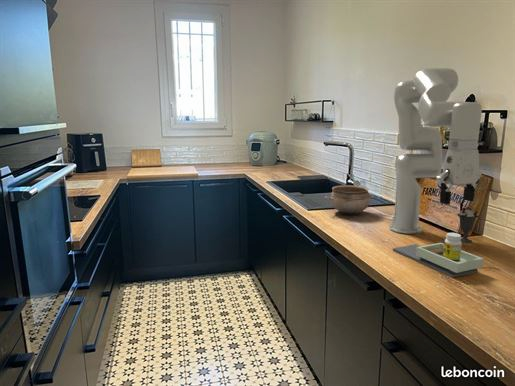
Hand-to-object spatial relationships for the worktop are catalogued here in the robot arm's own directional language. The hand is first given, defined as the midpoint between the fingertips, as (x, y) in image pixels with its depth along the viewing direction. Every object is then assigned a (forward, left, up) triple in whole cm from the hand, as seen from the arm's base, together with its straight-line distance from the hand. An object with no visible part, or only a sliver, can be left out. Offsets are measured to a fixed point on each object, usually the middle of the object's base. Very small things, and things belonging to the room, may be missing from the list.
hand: (456, 202), depth 116 cm
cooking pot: (-68, +11, -22) cm, 73 cm away
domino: (-5, 0, -19) cm, 19 cm away
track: (-7, 0, -21) cm, 22 cm away
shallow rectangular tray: (-1, 0, -21) cm, 21 cm away
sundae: (-16, +26, -22) cm, 38 cm away
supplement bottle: (0, 0, -19) cm, 19 cm away
